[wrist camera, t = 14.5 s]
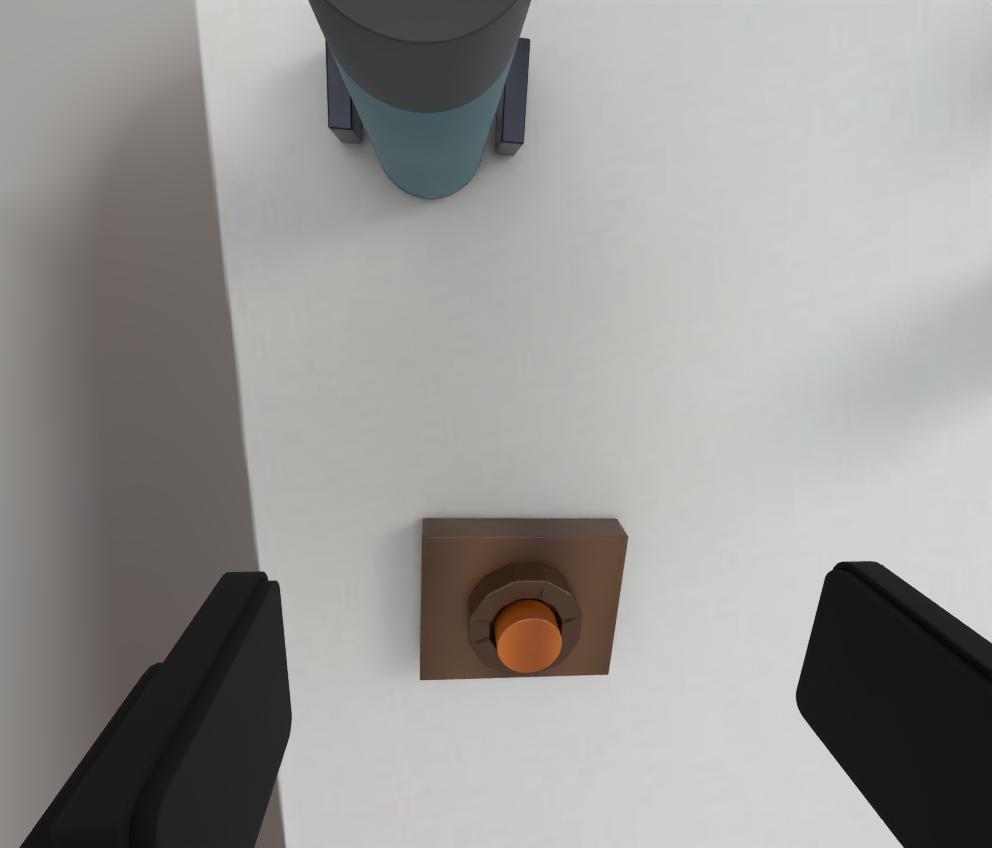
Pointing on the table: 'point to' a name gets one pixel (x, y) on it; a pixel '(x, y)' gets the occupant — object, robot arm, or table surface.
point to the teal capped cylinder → (424, 80)
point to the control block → (518, 591)
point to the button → (527, 636)
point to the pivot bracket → (508, 114)
